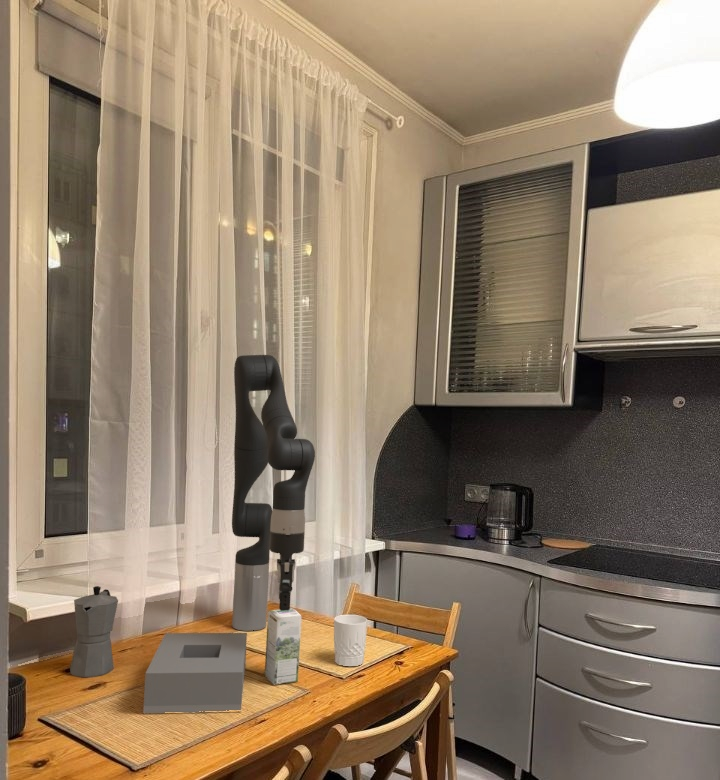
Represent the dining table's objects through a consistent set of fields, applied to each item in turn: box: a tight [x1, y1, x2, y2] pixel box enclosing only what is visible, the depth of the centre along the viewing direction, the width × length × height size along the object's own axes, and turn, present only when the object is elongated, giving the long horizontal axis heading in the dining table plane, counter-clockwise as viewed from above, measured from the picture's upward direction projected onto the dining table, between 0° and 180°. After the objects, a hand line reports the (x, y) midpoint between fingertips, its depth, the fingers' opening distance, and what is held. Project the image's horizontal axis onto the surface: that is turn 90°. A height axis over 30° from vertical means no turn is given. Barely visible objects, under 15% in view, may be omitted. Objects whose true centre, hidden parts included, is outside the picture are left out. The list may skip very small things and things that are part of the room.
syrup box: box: [264, 607, 302, 685], centre depth 142 cm, size 6×6×14 cm
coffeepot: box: [69, 585, 119, 678], centre depth 144 cm, size 15×9×18 cm, turn 5°
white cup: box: [333, 614, 368, 667], centre depth 154 cm, size 8×8×10 cm
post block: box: [142, 632, 248, 714], centre depth 135 cm, size 24×18×8 cm
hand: (284, 604), depth 142 cm, fingers open, 8 cm apart
